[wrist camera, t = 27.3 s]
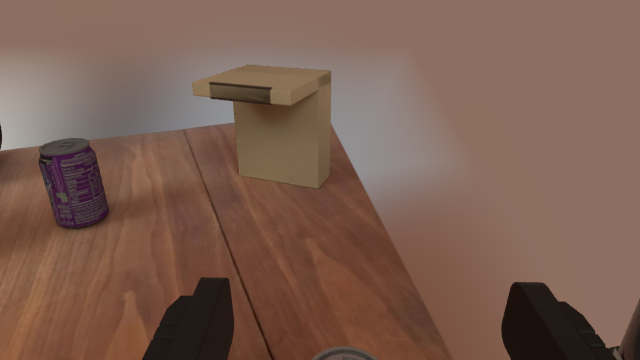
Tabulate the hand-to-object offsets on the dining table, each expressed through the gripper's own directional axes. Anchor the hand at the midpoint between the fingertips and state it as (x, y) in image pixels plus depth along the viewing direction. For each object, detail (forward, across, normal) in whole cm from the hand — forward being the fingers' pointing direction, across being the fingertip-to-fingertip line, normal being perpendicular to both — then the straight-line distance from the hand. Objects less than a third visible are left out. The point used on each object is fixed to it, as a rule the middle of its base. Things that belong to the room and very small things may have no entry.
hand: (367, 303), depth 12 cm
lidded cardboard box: (+59, +10, +25) cm, 65 cm away
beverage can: (+45, +38, +24) cm, 64 cm away
